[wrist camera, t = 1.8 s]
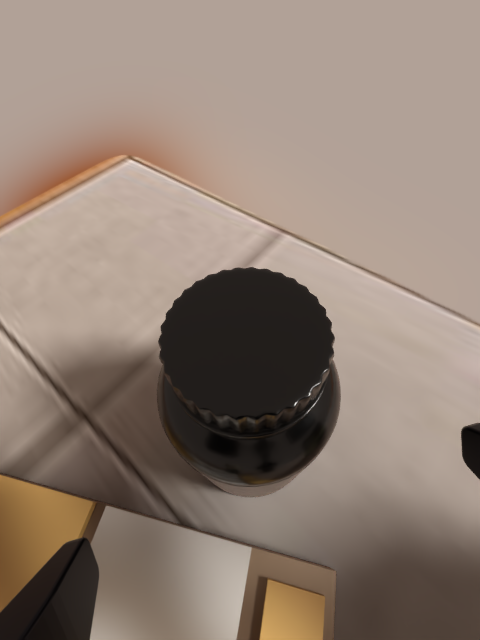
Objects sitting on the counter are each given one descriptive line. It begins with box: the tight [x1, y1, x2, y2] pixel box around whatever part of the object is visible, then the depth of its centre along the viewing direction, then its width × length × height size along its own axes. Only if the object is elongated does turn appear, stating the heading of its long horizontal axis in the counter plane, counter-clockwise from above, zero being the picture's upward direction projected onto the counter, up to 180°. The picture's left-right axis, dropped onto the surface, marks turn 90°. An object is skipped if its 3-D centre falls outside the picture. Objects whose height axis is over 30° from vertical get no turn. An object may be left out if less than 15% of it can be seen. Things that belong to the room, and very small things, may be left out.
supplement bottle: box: [157, 267, 341, 497], centre depth 13 cm, size 7×7×12 cm
